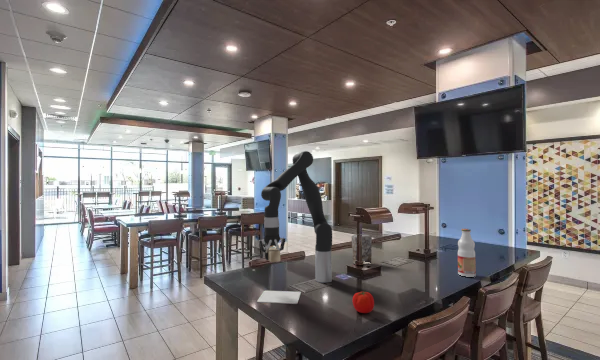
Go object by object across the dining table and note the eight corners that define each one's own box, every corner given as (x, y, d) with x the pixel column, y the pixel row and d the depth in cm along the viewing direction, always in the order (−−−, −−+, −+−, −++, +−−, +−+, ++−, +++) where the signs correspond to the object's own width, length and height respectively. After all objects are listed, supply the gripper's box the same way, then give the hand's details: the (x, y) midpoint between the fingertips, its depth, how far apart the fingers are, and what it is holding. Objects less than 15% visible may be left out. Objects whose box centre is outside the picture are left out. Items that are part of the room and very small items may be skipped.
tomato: (371, 306, 136) (371, 288, 136) (377, 316, 126) (377, 296, 126) (350, 307, 136) (350, 288, 136) (355, 317, 126) (355, 296, 126)
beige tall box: (270, 252, 149) (265, 247, 161) (270, 262, 149) (265, 257, 161) (280, 251, 151) (274, 246, 162) (280, 261, 151) (274, 256, 162)
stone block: (357, 266, 206) (357, 236, 206) (351, 264, 212) (350, 235, 212) (372, 264, 211) (372, 235, 212) (366, 261, 218) (366, 233, 218)
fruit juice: (471, 279, 176) (471, 230, 177) (455, 275, 183) (454, 229, 184) (478, 276, 182) (477, 229, 183) (462, 272, 189) (461, 227, 190)
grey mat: (301, 292, 155) (301, 291, 155) (297, 303, 140) (297, 303, 140) (264, 291, 157) (264, 290, 157) (256, 302, 142) (256, 301, 142)
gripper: (283, 224, 162) (284, 256, 162) (256, 226, 157) (257, 259, 157) (287, 225, 155) (288, 259, 155) (259, 227, 150) (260, 262, 150)
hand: (272, 259), depth 156 cm, fingers closed on beige tall box, 5 cm apart
